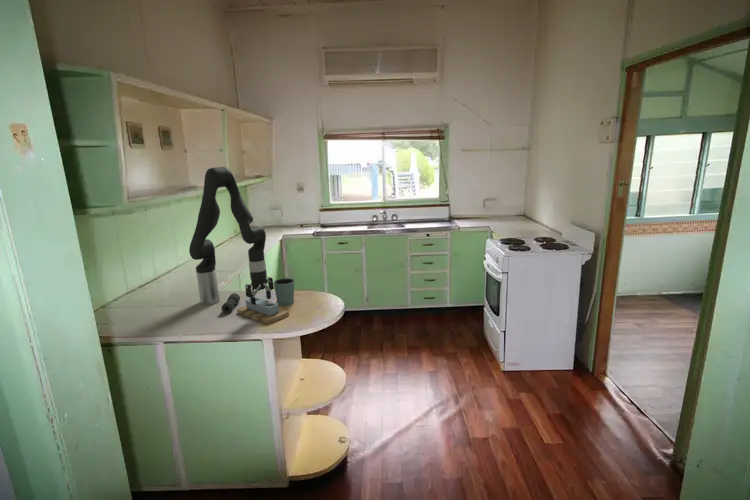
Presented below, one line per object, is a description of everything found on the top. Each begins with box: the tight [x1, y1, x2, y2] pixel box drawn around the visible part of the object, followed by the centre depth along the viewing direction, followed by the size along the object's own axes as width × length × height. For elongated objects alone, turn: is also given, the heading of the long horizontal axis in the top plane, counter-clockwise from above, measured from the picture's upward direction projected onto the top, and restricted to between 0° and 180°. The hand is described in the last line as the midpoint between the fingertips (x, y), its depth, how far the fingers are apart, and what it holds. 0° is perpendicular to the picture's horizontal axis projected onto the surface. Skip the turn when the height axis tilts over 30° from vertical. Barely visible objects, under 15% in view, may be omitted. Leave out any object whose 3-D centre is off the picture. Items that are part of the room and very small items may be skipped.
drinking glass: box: [273, 277, 295, 307], centre depth 208 cm, size 10×10×12 cm
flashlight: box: [221, 292, 241, 314], centre depth 205 cm, size 15×5×5 cm, turn 4°
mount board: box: [236, 296, 290, 325], centre depth 195 cm, size 24×12×7 cm, turn 52°
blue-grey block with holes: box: [245, 296, 280, 316], centre depth 195 cm, size 18×6×4 cm, turn 52°
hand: (261, 301), depth 195 cm, fingers open, 8 cm apart
